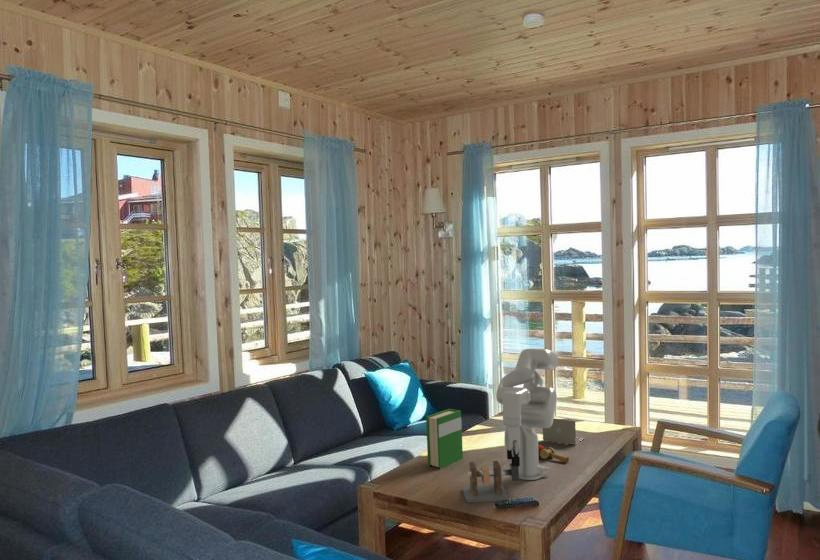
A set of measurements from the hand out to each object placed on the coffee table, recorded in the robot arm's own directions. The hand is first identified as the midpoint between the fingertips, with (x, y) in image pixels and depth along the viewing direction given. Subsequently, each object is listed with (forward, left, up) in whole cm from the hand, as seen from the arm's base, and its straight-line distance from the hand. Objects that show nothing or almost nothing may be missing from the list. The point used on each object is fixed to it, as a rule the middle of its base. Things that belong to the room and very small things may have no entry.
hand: (513, 462), depth 258 cm
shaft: (+8, -1, -7) cm, 11 cm away
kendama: (-26, -41, -14) cm, 50 cm away
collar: (+12, -1, -8) cm, 14 cm away
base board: (+12, -1, -13) cm, 18 cm away
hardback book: (+25, -44, -13) cm, 52 cm away
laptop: (-40, -71, -14) cm, 82 cm away
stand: (+12, -1, -12) cm, 17 cm away
